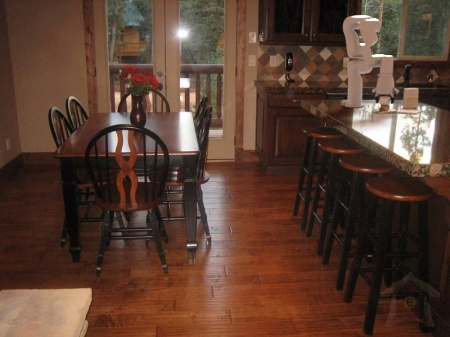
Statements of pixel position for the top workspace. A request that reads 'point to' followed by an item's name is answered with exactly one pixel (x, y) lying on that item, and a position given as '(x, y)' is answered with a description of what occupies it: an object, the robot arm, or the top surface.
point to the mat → (409, 111)
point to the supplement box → (410, 98)
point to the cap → (384, 100)
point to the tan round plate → (384, 110)
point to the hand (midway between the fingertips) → (384, 103)
